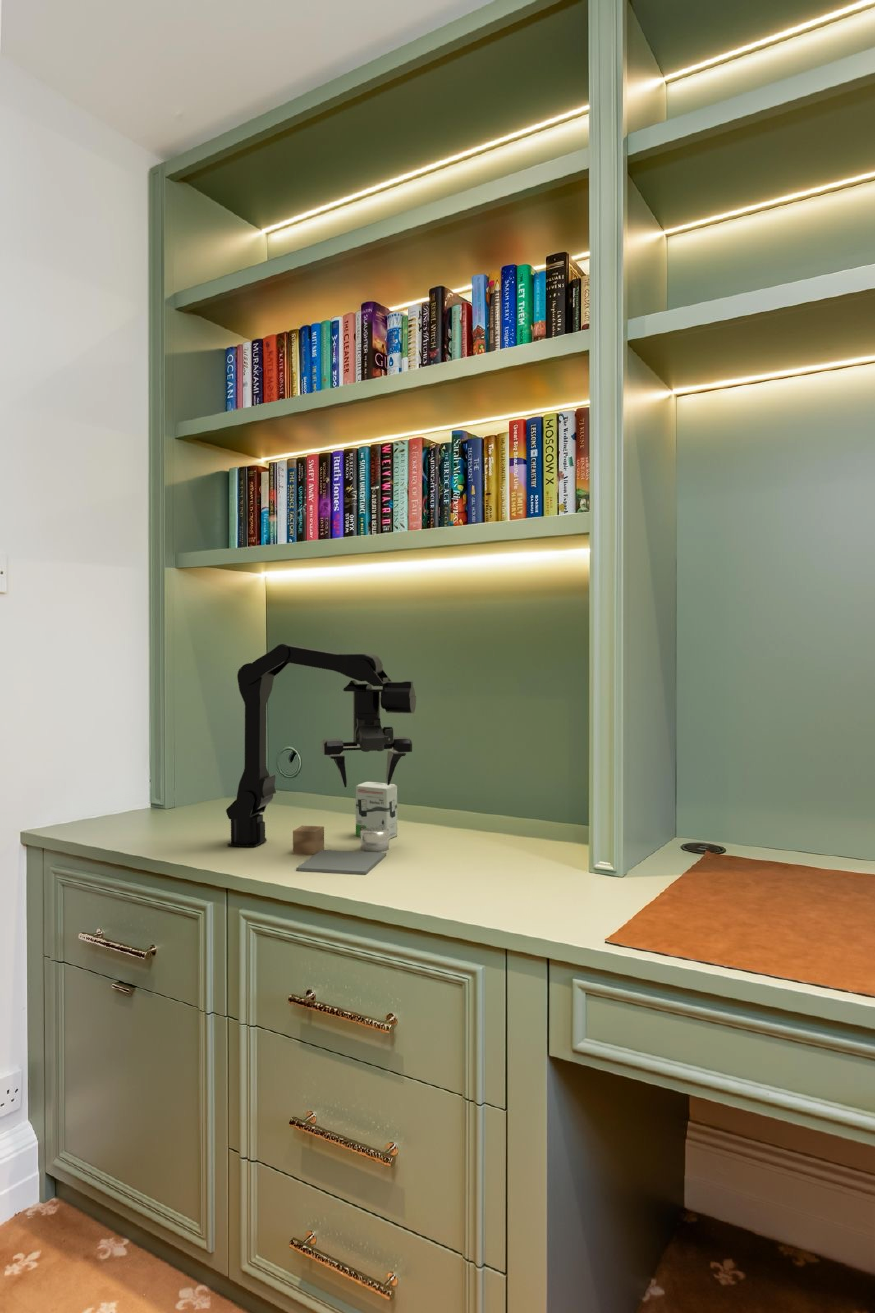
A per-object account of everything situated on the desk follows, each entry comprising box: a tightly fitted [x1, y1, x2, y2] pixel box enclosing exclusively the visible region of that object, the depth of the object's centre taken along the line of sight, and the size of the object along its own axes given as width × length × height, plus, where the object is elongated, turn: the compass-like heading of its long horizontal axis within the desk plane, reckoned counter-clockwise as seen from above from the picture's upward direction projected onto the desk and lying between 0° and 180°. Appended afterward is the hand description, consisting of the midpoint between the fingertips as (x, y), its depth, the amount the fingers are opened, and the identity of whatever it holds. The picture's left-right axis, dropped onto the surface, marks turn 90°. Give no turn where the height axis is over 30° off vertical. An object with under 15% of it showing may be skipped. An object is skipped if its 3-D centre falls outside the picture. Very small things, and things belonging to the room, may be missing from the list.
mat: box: [295, 849, 387, 875], centre depth 159 cm, size 14×14×1 cm
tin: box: [360, 827, 390, 853], centre depth 170 cm, size 6×6×4 cm
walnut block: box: [292, 825, 325, 856], centre depth 168 cm, size 5×5×5 cm
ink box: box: [355, 781, 398, 840], centre depth 181 cm, size 9×5×12 cm, turn 62°
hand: (366, 786), depth 170 cm, fingers open, 9 cm apart
